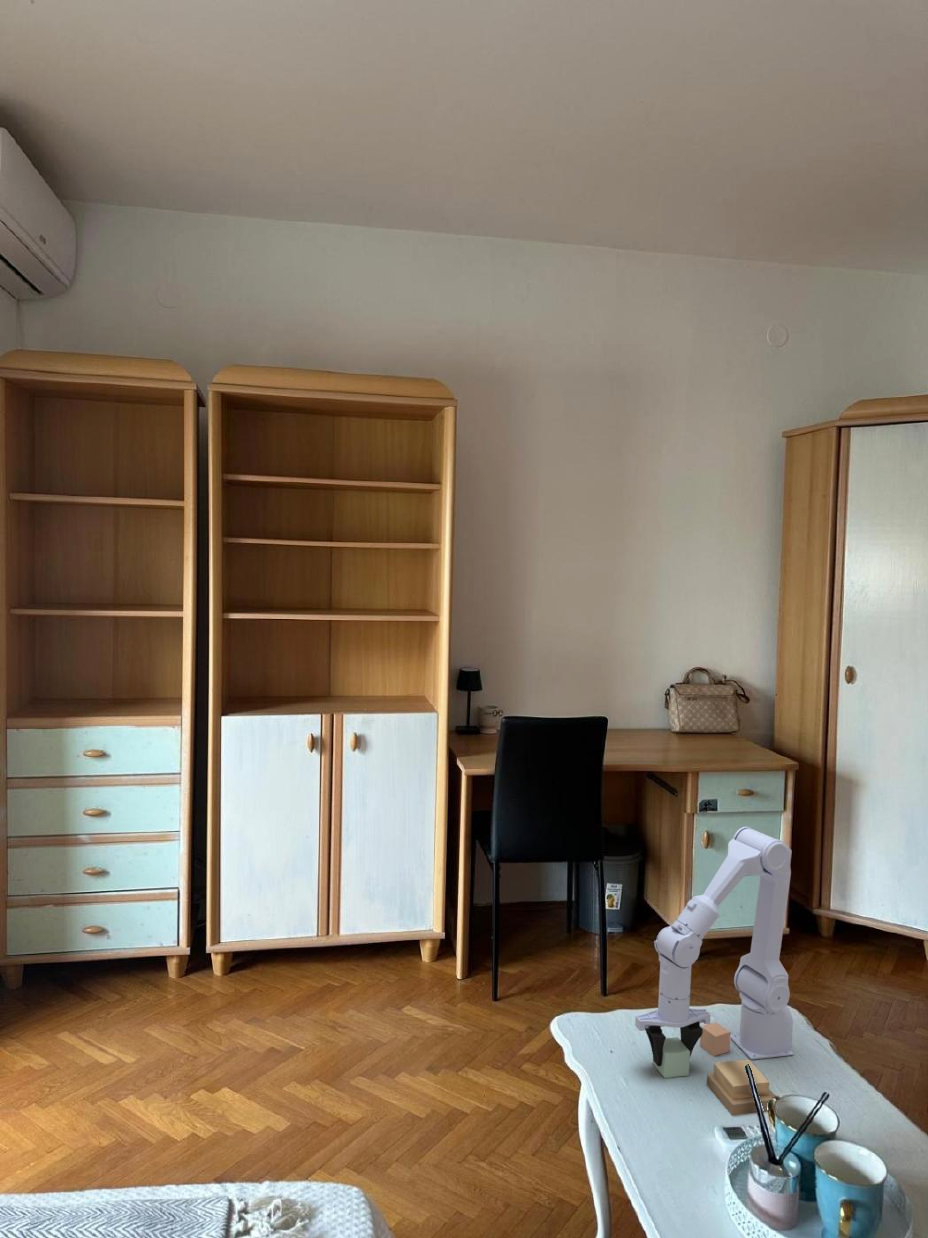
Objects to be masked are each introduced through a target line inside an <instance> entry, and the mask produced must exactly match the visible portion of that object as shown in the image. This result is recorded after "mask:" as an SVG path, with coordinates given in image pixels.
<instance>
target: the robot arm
mask: <svg viewBox="0 0 928 1238" xmlns="http://www.w3.org/2000/svg"><path fill="white" fill-rule="evenodd" d="M792 852H793V851H792V849H791V848H790V847H789V846H788V844H786V843H785V842H784V841H783V840H781V839H778V838H774V837H772V836H770V835H768V834H765V833H762V832H760V831H757V830H755V829H754V828H753V827H750V826H742V827H740V828H739V829H737V831H736V832H735V833H734V834H733V836H732V839H731V840H730V841H729V842H728V844H727V856H726V857H725V859H724V860H723V862H722V863H721V865H720V867H719V868H718V870H717V871H716V873H715V875H714V876H713V878H712V879H711V881H710V882H709V884H708V885H707V887H706V889H705V891H704V892H703V894H700V895H694V896H692V897H691V899H689V901H688V902H687V903H686V905H685V906H684V908H683V909H682V911H681V912H680V913H679V915H678V916H677V917H676V919H675V920H674V922H673V923H672V924H671V925H670V926H666V927H664V928H662V929H661V930H660V931H659V932H658V935H657V936H656V940H654V941H653V943H654V949H655V950H656V952H657V953H658V961H659V980H658V1001H657V1003H658V1005H657V1007H658V1008H657V1009H654V1010H651V1011H649V1012H645V1013H644V1014H640V1015H639V1014H637V1015H635V1021H634V1025H635V1027H636V1028H637V1029H638V1031H645V1033H646V1036H647V1038H648V1040H649V1041H648V1042H649V1044H650V1049H651V1052H652V1053H651V1054H652V1062H653V1061H654V1062H655V1063H656V1065H657V1066H661V1065H662V1052H663V1046H664V1042H665V1039H666V1038H667V1037H666V1035H665V1034H664V1033H663V1029H662V1027H667V1028H669V1027H670V1028H679V1029H680V1031H679V1033H680V1040H681V1042H682V1043H683V1044H684V1045H685V1046H686V1048H687V1049H688V1050H689V1051H690V1057H692V1056H691V1055H692V1053H693V1051H694V1048H695V1046H696V1044H697V1043H698V1041H699V1040H700V1037H701V1036H702V1033H703V1029H702V1028H701V1025H700V1024H701V1023H702V1024H704V1025H708V1024H711V1013H710V1012H709V1011H708V1010H707V1009H706V1008H703V1009H701V1008H700V1009H698V1008H690V1006H691V1005H690V1003H691V1000H690V998H691V984H692V983H691V981H692V980H691V979H692V965H693V964H694V963H695V962H696V961H697V960H698V959H699V956H700V952H701V951H700V950H701V946H702V945H703V939H704V938H705V936H706V935H707V933H708V932H709V931H710V930H711V928H712V927H713V926H714V924H715V923H716V921H717V920H718V918H719V917H720V916H719V906H720V905H721V904H722V902H723V901H724V900H725V899H726V898H727V897H728V895H730V893H731V892H732V891H733V890H734V889H735V888H736V887H737V885H738V884H739V883H741V881H742V879H744V877H749V876H750V877H753V876H754V877H755V876H760V877H759V878H760V880H759V886H758V892H757V893H758V894H757V902H756V908H755V916H754V923H753V930H752V938H751V945H750V952H749V953H746V954H745V955H742V956H740V961H739V965H738V967H737V969H736V971H735V973H734V977H733V983H734V987H735V989H736V990H737V991H738V992H739V994H738V995H739V998H740V999H741V1003H740V1004H741V1005H740V1022H739V1025H740V1026H739V1034H730V1040H732V1041H733V1043H735V1045H736V1046H737V1047H739V1048H740V1050H741V1051H742V1052H743V1053H744V1054H745V1055H746V1056H747V1057H748V1058H749V1060H759V1059H770V1058H776V1057H778V1058H779V1057H786V1056H787V1057H788V1056H794V1051H793V1050H792V1042H793V1039H792V1038H793V1023H794V1022H793V1016H792V1012H791V1010H790V1007H789V1006H788V1005H787V1004H788V1003H789V1001H790V995H791V993H790V987H789V974H788V972H787V971H786V968H784V966H783V964H782V962H781V961H780V954H781V949H782V940H783V933H784V927H785V926H784V925H785V920H786V912H787V911H786V910H787V906H788V897H789V890H790V884H791V883H790V882H791V875H792V870H791V861H792V860H791V859H792Z"/></svg>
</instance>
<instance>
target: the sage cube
mask: <svg viewBox="0 0 928 1238" xmlns="http://www.w3.org/2000/svg"><path fill="white" fill-rule="evenodd" d="M690 1060H691V1056H690V1051H689V1050H688V1049H687V1048H686V1046H685V1045H684V1044H683V1043H682V1042H681V1038H680V1037H678V1036H677V1037H666V1039H665V1042H664V1046H663V1052H662V1065H661V1066H657V1065H656V1063H655V1062H654V1061H653V1060H652V1064H653V1065H654V1066H655V1068H656V1069H657V1071H659V1073H660V1074H661V1076H662V1077H663V1079H669V1078H677V1077H684V1076H685V1077H686V1076H687V1077H688V1076H690Z"/></svg>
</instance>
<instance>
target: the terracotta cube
mask: <svg viewBox="0 0 928 1238" xmlns="http://www.w3.org/2000/svg"><path fill="white" fill-rule="evenodd" d="M700 1027H701V1028H702V1029H703V1033H702V1036H701V1037H700V1038H699V1040H700V1041H699V1042H700V1043H699V1047H700V1048H703V1050H705V1051H707V1052H708V1053H710V1054H711V1055H712V1056H713V1057H717V1056H720V1055H722V1054H723V1055H724V1054H725V1053H729V1052H730V1051H731V1050H730V1049H731V1047H730V1046H731V1031H730V1030H728V1029H727V1028H726V1027H724V1026H722V1025H721V1024H720V1023H718V1022H716V1021H715V1022H710V1024H704V1025H700Z"/></svg>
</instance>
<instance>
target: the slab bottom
mask: <svg viewBox="0 0 928 1238" xmlns="http://www.w3.org/2000/svg"><path fill="white" fill-rule="evenodd" d="M713 1075H714V1073H708V1074H706V1086H707V1087H708V1088H709V1089H710V1090H711V1092H712V1093H713V1095H715V1097H716V1098H717V1099H718V1100H719V1101H720V1103H721V1104H722V1105H723V1107H724V1108H725V1109H726V1110H727V1111H728V1112H729V1114H730V1115H731V1116H739V1115H747V1114H754V1113H755V1114H756V1113H758V1112H757V1109H756V1106H755V1101H754V1098H753V1097H748V1098H740V1099H732V1098H731V1096H730V1095H729V1094H728V1093H727V1092H726V1090H725V1089H724V1088H723V1087H722V1085H721V1084H720V1083H719V1082H718V1081H717V1079H716V1078H715V1077H714V1076H713ZM774 1096H776V1094H774V1092H773V1091H772V1090H771V1089H770V1088H769V1095H764V1096H760V1100H761V1103H762V1106H763V1109H764V1112H768V1111H767V1103H768V1101H769V1100H770V1098H772V1097H774Z"/></svg>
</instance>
